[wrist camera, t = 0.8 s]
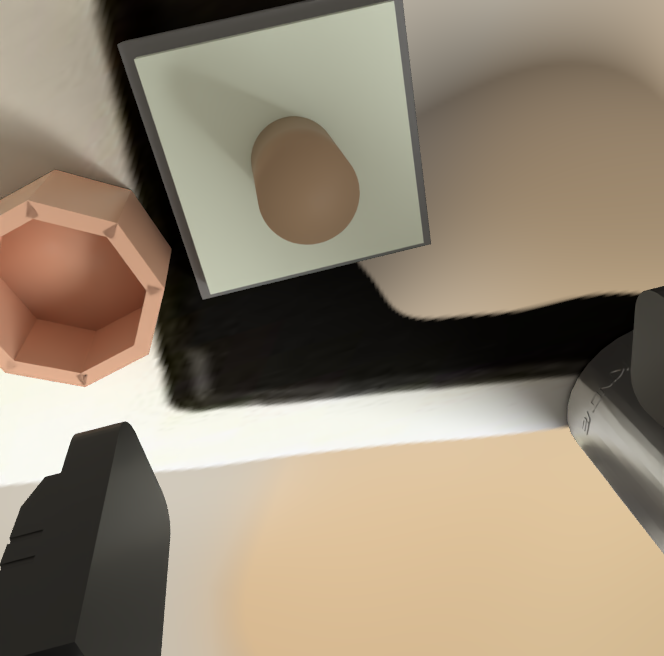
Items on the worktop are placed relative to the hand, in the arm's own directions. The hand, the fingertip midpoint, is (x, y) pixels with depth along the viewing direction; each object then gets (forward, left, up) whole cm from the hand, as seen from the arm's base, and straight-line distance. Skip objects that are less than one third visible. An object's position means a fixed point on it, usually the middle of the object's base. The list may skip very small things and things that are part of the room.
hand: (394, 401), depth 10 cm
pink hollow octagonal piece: (+7, +7, -18) cm, 20 cm away
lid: (0, 0, -16) cm, 16 cm away
